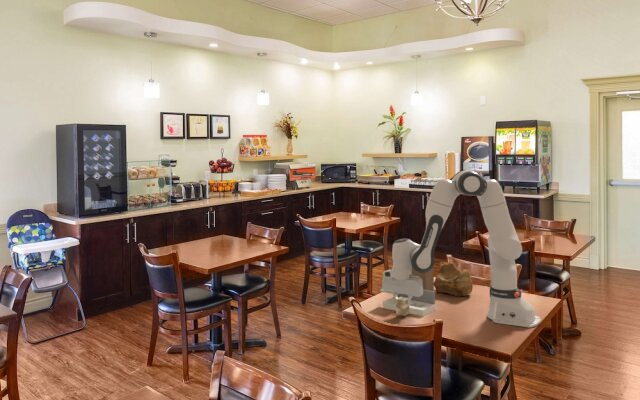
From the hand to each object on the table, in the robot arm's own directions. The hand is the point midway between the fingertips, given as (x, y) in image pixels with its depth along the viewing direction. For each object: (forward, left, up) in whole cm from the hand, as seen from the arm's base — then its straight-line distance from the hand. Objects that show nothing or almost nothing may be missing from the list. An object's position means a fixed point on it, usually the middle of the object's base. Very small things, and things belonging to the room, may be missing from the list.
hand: (402, 302), depth 229 cm
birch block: (0, 0, -5) cm, 5 cm away
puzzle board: (+3, -11, -7) cm, 13 cm away
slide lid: (+11, -10, +1) cm, 15 cm away
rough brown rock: (-1, -47, -7) cm, 48 cm away
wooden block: (+6, -29, -7) cm, 30 cm away
